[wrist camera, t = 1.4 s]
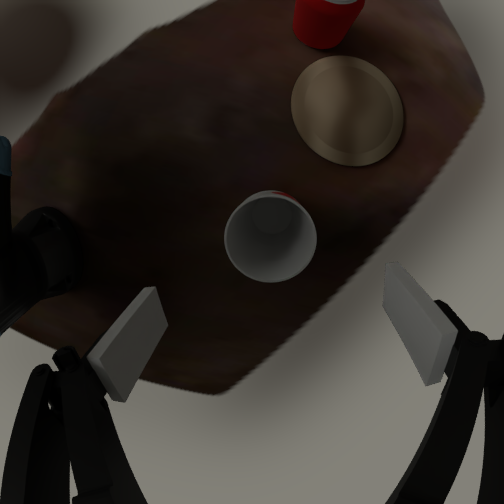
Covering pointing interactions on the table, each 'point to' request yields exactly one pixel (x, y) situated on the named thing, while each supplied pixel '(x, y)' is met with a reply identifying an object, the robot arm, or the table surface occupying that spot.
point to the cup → (270, 237)
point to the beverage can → (324, 21)
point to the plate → (347, 110)
